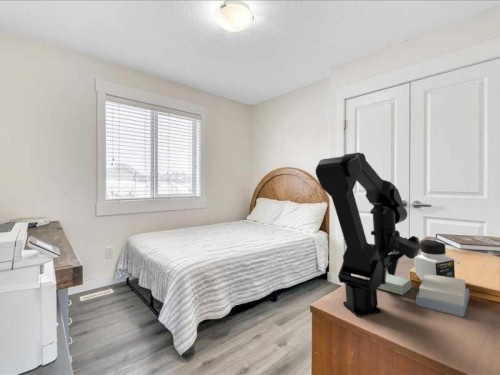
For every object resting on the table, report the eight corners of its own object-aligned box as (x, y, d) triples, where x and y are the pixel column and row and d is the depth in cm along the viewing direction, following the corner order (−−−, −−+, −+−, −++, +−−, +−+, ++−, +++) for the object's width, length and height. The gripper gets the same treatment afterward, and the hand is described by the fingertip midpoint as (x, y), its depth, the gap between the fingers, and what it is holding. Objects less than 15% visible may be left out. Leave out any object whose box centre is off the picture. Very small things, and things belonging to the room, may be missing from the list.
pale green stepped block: (366, 284, 75) (365, 276, 75) (375, 278, 79) (375, 271, 79) (402, 295, 67) (402, 285, 67) (411, 288, 71) (410, 279, 71)
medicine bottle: (437, 286, 71) (434, 245, 71) (414, 278, 78) (412, 240, 78) (455, 282, 73) (453, 241, 73) (432, 274, 80) (430, 237, 80)
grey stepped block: (464, 317, 56) (463, 297, 56) (416, 304, 63) (415, 287, 62) (469, 297, 64) (468, 280, 64) (427, 288, 71) (426, 272, 71)
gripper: (403, 237, 61) (407, 300, 61) (426, 224, 73) (430, 277, 73) (358, 232, 69) (362, 288, 69) (386, 221, 81) (389, 269, 81)
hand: (387, 280), depth 73 cm, fingers closed on pale green stepped block, 6 cm apart
